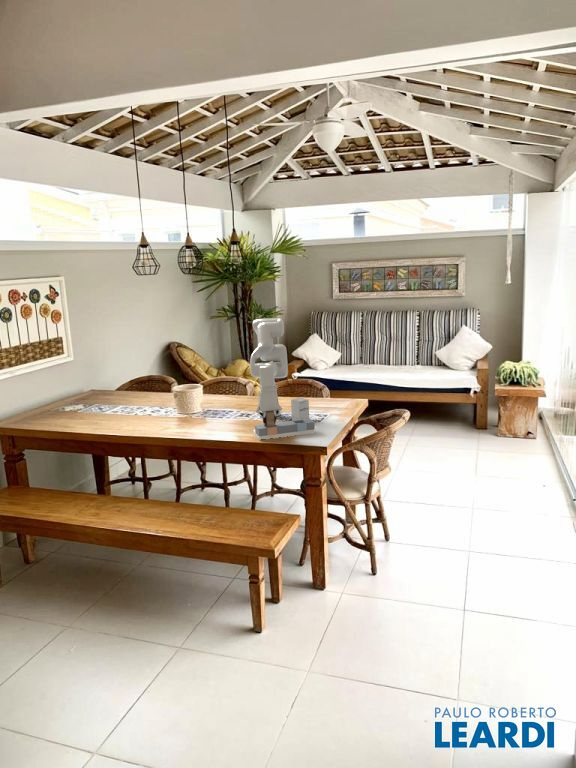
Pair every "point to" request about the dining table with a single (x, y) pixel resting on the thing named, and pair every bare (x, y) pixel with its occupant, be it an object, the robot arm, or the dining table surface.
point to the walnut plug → (270, 419)
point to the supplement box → (300, 409)
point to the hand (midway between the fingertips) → (269, 423)
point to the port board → (285, 429)
